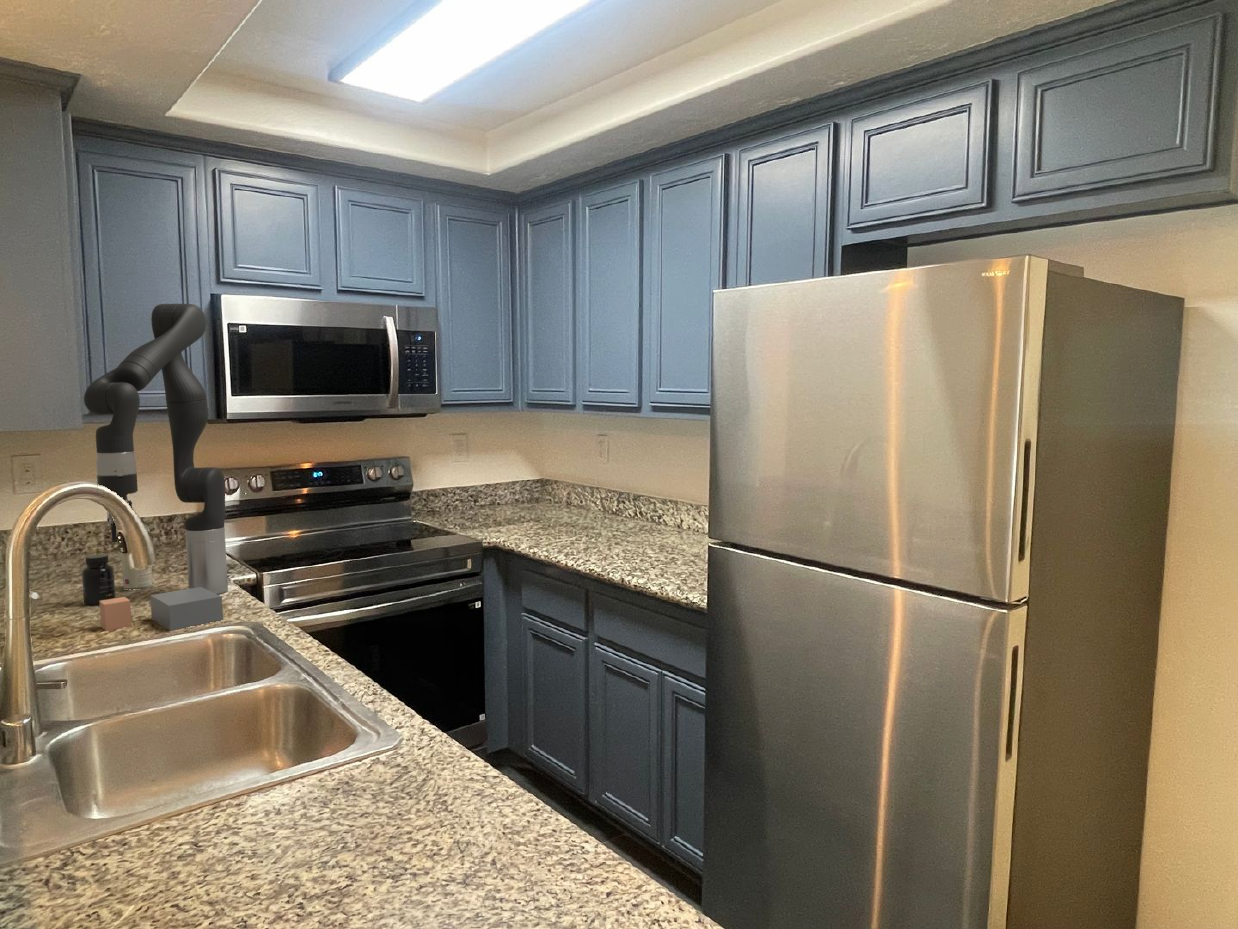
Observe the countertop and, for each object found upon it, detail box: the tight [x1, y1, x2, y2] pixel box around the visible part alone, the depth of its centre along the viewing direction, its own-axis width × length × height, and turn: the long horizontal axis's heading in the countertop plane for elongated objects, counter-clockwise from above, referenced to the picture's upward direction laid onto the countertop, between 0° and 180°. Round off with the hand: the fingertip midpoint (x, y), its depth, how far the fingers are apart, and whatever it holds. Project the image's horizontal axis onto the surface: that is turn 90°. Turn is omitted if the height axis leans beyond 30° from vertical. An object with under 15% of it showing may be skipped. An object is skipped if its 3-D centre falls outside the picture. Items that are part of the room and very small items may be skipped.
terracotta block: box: [99, 596, 133, 632], centre depth 181 cm, size 5×5×6 cm
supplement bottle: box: [81, 554, 116, 607], centre depth 202 cm, size 7×7×12 cm
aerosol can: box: [120, 524, 153, 590], centre depth 217 cm, size 7×7×20 cm
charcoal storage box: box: [149, 587, 224, 632], centre depth 185 cm, size 14×11×6 cm
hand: (121, 544), depth 179 cm, fingers open, 8 cm apart
